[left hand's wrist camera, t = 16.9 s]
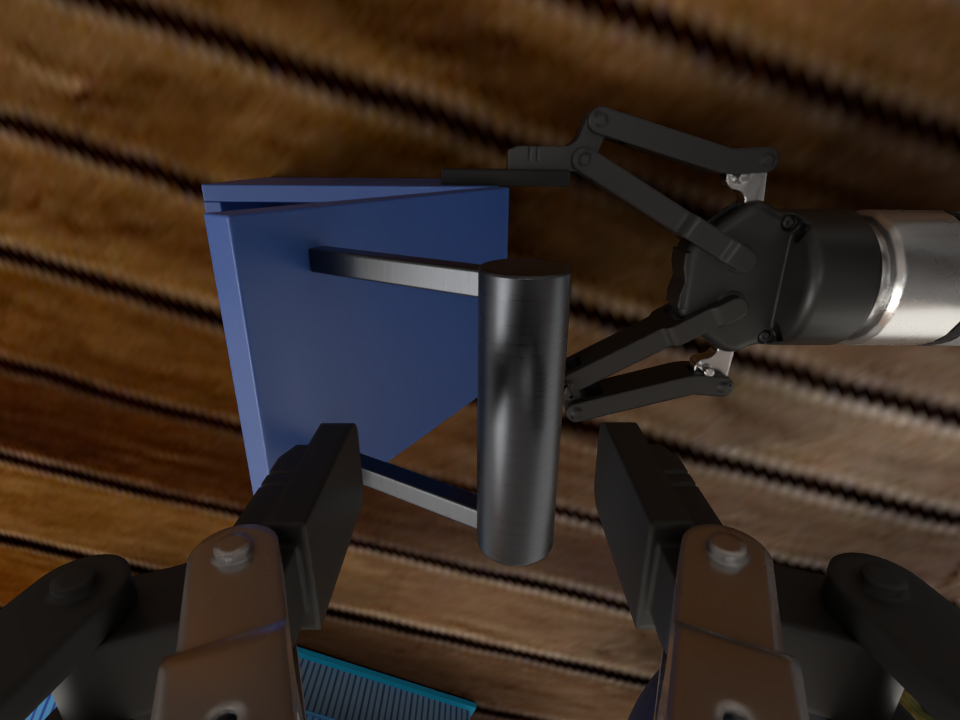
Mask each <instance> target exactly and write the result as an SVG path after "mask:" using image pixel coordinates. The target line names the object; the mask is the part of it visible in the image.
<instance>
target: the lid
mask: <svg viewBox="0 0 960 720" xmlns="http://www.w3.org/2000/svg"><path fill="white" fill-rule="evenodd" d="M508 213H509V188H508V187H483V188H472V189H461V190H451V191H440V192H429V193H418V194H407V195H396V196H385V197H374V198H363V199H352V200H341V201H330V202H319V203H308V204H298V205H287V206H276V207H265V208H254V209H243V210H232V211H221V212H210V213H206V214H204V218H205V224H206V229H207V235H208V241H209V246H210V252H211V258H212V263H213V269H214V275H215V280H216V286H217V292H218V297H219V303H220V309H221V314H222V320H223V325H224V331H225V337H226V342H227V348H228V354H229V359H230V365H231V371H232V376H233V382H234V388H235V393H236V399H237V405H238V410H239V416H240V422H241V427H242V433H243V438H244V444H245V450H246V455H247V461H248V467H249V472H250V478H251V484H252V489H253V495H254V494H255V493H256V491H257V490H258V488H259V487H261V484H262V482H263V481H264V479H265V478H266V476H267V475H269V472H270V470H271V468H272V467H273V465H274V464H275V462H276V461H277V459H278V458H279V457H280V456H281V455H283V454H284V453H286V452H287V451H288V450H290V449H291V448H293V447H294V446H295V445H308V444H309V442H310V441H311V439H312V437H313V436H314V434H315V432H316V430H317V429H318V427H319V425H320V424H321V423H355V424H356V426H357V429H358V437H359V447H360V458H361V468H362V478H363V485H365V486H368V487H371V488H373V489H376V490H378V491H381V492H383V493H386V494H388V495H391V496H394V497H396V498H399V499H401V500H404V501H406V502H409V503H411V504H414V505H416V506H419V507H422V508H424V509H427V510H429V511H432V512H434V513H437V514H439V515H442V516H445V517H447V518H450V519H452V520H455V521H457V522H460V523H462V524H465V525H468V526H470V527H473V528H475V529H477V542H478V545H479V547H480V549H481V550H482V552H483V553H484V554H485V555H486V556H487V557H489V558H490V559H492V560H493V561H495V562H498V563H501V564H504V565H509V566H526V565H530V564H534V563H536V562H538V561H540V560H542V559H543V558H544V557H546V556H547V554H548V553H549V552H550V550H551V548H552V545H553V536H554V522H555V507H556V493H557V479H558V465H559V451H560V437H561V422H562V408H563V394H564V380H565V366H566V352H567V338H568V323H569V309H570V295H571V281H572V270H571V267H570V266H568V265H566V264H563V263H560V262H557V261H552V260H545V259H534V258H507V252H508ZM477 397H478V399H477V494H474V493H471V492H469V491H466V490H463V489H460V488H457V487H455V486H452V485H449V484H446V483H443V482H440V481H438V480H435V479H432V478H429V477H426V476H424V475H421V474H418V473H415V472H412V471H410V470H407V469H404V468H401V467H398V466H396V465H393V464H390V463H387V462H388V461H390V460H391V459H392V458H394V457H395V456H397V455H398V454H399V453H401V452H402V451H403V450H405V449H406V448H408V447H409V446H410V445H412V444H413V443H415V442H416V441H417V440H419V439H420V438H421V437H423V436H424V435H426V434H427V433H428V432H430V431H431V430H433V429H434V428H435V427H437V426H438V425H439V424H441V423H442V422H444V421H445V420H446V419H448V418H449V417H451V416H452V415H453V414H455V413H456V412H457V411H459V410H460V409H462V408H463V407H464V406H466V405H467V404H469V403H470V402H471V401H473V400H474V399H475V398H477Z"/></svg>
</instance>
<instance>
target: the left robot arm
mask: <svg viewBox="0 0 960 720" xmlns="http://www.w3.org/2000/svg"><path fill="white" fill-rule="evenodd" d="M687 472H688V471H687V470H686V468H685V467H684V465H683V464H682V462H681V460H680V459H679V457H678V456H676V455H675V454H674V453H672V452H671V451H669V450H668V449H667V448H665V447H664V446H662V445H661V444H648V442H647V440H646V439H645V437H644V435H643V433H642V432H641V430H640V428H639V426H638V425H637V424H636V423H634V422H609V423H608V422H604V423H602V424H601V426H600V431H599V440H598V450H597V461H596V472H595V484H594V491H595V502H596V507H597V511H598V514H599V517H600V520H601V523H602V526H603V529H604V532H605V535H606V538H607V541H608V544H609V548H610V551H611V554H612V557H613V560H614V563H615V566H616V569H617V572H618V575H619V578H620V581H621V584H622V587H623V590H624V593H625V596H626V599H627V602H628V606H629V609H630V612H631V615H632V618H633V621H634V624H635V627H636V629H656V631H657V633H658V636H659V639H660V641H661V644H662V647H663V650H662V655H661V662H660V670H659V679H658V687H657V695H656V704H655V712H654V720H916V719H915V718H914V717H913V716H912V715H911V714H910V713H909V712H908V711H907V710H906V709H905V708H904V707H903V706H902V705H901V704H900V702H899V700H900V698H901V695H902V693H903V691H904V689H905V690H906V691H907V692H908V693H909V694H910V695H911V696H912V697H913V698H914V699H915V700H916V701H917V702H918V703H919V704H920V705H921V706H922V707H923V708H924V709H925V710H926V711H927V712H928V713H929V714H930V715H931V716H932V717H933V718H934V719H935V720H960V609H958V608H957V607H956V606H955V605H953V604H952V603H951V602H949V601H948V600H947V599H946V598H944V597H943V596H942V595H940V594H939V593H938V592H937V591H935V590H934V589H933V588H931V587H930V586H929V585H928V584H926V583H925V582H924V581H923V580H921V579H920V578H919V577H917V576H916V575H914V574H913V573H911V572H910V571H908V570H906V569H905V568H903V567H901V566H899V565H897V564H895V563H893V562H890V561H888V560H885V559H882V558H879V557H876V556H872V555H868V554H862V553H843V554H839V555H837V556H835V557H833V558H832V559H831V560H830V562H829V565H828V568H827V571H826V574H825V575H821V574H816V573H812V572H807V571H803V570H798V569H794V568H789V567H785V566H781V565H777V564H774V563H773V561H772V558H771V556H770V554H769V552H768V551H767V550H766V548H765V547H764V546H763V545H762V544H760V543H759V542H758V541H757V540H755V539H754V538H752V537H751V536H749V535H747V534H745V533H743V532H741V531H739V530H736V529H734V528H730V527H727V526H723V525H722V524H721V522H720V521H719V519H718V517H717V516H716V514H715V513H714V511H713V510H712V508H711V507H710V505H709V504H708V502H707V501H706V499H705V497H704V496H703V494H702V493H701V491H700V490H699V488H698V487H696V486H695V482H694V481H693V479H692V477H691V476H690V474H688V473H687ZM362 498H363V478H362V468H361V458H360V447H359V437H358V429H357V426H356V424H355V423H321V424H320V425H319V427H318V429H317V430H316V432H315V434H314V436H313V437H312V439H311V441H310V442H309V444H308V445H295V446H294V447H293V448H291V449H290V450H288V451H287V452H286V453H284V454H283V455H281V456H280V457H279V458H278V459H277V461H276V462H275V464H274V465H273V467H272V468H271V470H270V472H269V475H267V476H266V478H265V479H264V481H263V482H262V484H261V487H259V488H258V490H257V491H256V493H255V494H254V496H253V497H252V499H251V500H250V502H249V503H248V505H247V506H246V508H245V509H244V511H243V513H242V514H241V516H240V517H239V519H238V520H237V522H236V523H235V525H234V526H233V527H230V528H226V529H224V530H221V531H219V532H217V533H215V534H213V535H211V536H209V537H208V538H206V539H205V540H203V541H202V542H201V543H200V544H198V545H197V546H196V547H195V548H194V550H193V551H192V552H191V554H190V556H189V558H188V561H187V563H185V564H182V565H179V566H175V567H171V568H167V569H162V570H158V571H153V572H149V573H144V574H140V575H135V576H132V573H131V569H130V566H129V564H128V562H127V561H126V560H125V559H124V558H122V557H120V556H117V555H110V554H102V555H93V556H88V557H84V558H81V559H78V560H74V561H72V562H69V563H67V564H64V565H62V566H60V567H58V568H56V569H54V570H53V571H51V572H49V573H48V574H46V575H44V576H43V577H42V578H40V579H39V580H37V581H36V582H35V583H34V584H32V585H31V586H30V587H29V588H27V589H26V590H25V591H23V592H22V593H21V594H20V595H18V596H17V597H16V598H14V599H13V600H12V601H11V602H9V603H8V604H7V605H5V606H4V607H3V608H2V609H0V720H25V719H26V718H27V717H28V716H29V715H30V714H31V713H32V712H33V711H34V710H35V709H36V708H37V707H38V706H39V705H40V704H41V703H42V702H43V701H44V700H45V699H46V698H47V697H48V696H49V695H50V694H51V693H52V696H53V698H54V700H55V703H56V705H57V707H56V708H55V709H54V710H53V711H52V712H51V713H50V714H49V715H48V716H47V717H46V718H45V719H44V720H306V712H305V704H304V695H303V687H302V679H301V670H300V662H299V655H298V650H297V644H296V640H297V637H298V635H299V632H300V630H320V629H321V626H322V623H323V620H324V617H325V614H326V611H327V608H328V605H329V602H330V599H331V596H332V593H333V590H334V587H335V584H336V581H337V578H338V575H339V572H340V569H341V566H342V563H343V560H344V557H345V554H346V551H347V548H348V545H349V543H350V540H351V537H352V534H353V531H354V528H355V525H356V522H357V519H358V516H359V513H360V509H361V505H362Z"/></svg>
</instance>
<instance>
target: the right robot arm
mask: <svg viewBox="0 0 960 720" xmlns="http://www.w3.org/2000/svg"><path fill="white" fill-rule="evenodd" d="M603 140H606V141H609V142H612V143H615V144H619V145H622V146H625V147H628V148H631V149H634V150H637V151H640V152H643V153H646V154H650V155H653V156H656V157H659V158H662V159H665V160H668V161H671V162H674V163H678V164H681V165H684V166H687V167H690V168H693V169H696V170H700V171H704V172H711V173H720V177H719V179H720V184H721V185H722V186H723V187H724V188H728V189H732V190H733V191H734V192H735V193H736V195H737V201H736V202H734V203H732V204H731V205H729V206H728V207H726V208H725V209H723V210H722V211H720V212H719V213H717V214H716V215H714V216H713V217H711V218H710V219H708V220H707V221H705V220H704V219H702V218H700V217H699V216H697V215H695V214H693V213H691V212H689V211H688V210H686V209H685V208H683V207H681V206H680V205H678V204H677V203H675V202H674V201H672V200H671V199H669V198H668V197H666V196H664V195H663V194H661V193H660V192H658V191H657V190H655V189H654V188H652V187H651V186H649V185H647V184H646V183H644V182H643V181H641V180H640V179H638V178H637V177H635V176H634V175H632V174H630V173H629V172H627V171H626V170H624V169H623V168H621V167H620V166H618V165H617V164H615V163H613V162H612V161H610V160H609V159H607V158H606V157H604V156H603V155H601V154H600V153H598V152H599V149H600V147H601V144H602V142H603ZM778 162H779V153H778V151H777V150H776V149H775V148H773V147H746V148H729V147H726V146H723V145H720V144H717V143H714V142H711V141H708V140H705V139H702V138H699V137H696V136H693V135H690V134H687V133H683V132H680V131H677V130H674V129H671V128H668V127H665V126H662V125H659V124H656V123H653V122H650V121H647V120H644V119H641V118H638V117H635V116H632V115H629V114H626V113H623V112H620V111H617V110H614V109H610V108H607V107H602V106H600V107H597V108H594V109H592V110H589V111H587V112H586V113H584V114H583V116H582V118H581V120H580V125H579V128H578V130H577V133H576V135H575V137H574V139H573V140H572V142H571V143H569V144H568V145H565V146H516V147H513V148H511V149H508V150H507V169H450V168H444V169H442V170H441V185H498V186H554V187H570V173H571V171H574V172H576V173H577V174H579V175H580V176H582V177H584V178H585V179H587V180H588V181H590V182H591V183H593V184H595V185H596V186H598V187H599V188H601V189H603V190H604V191H606V192H607V193H609V194H610V195H612V196H614V197H615V198H617V199H618V200H620V201H621V202H623V203H625V204H626V205H628V206H629V207H631V208H633V209H634V210H636V211H637V212H639V213H640V214H642V215H644V216H645V217H647V218H648V219H650V220H651V221H653V222H655V223H656V224H658V225H659V226H661V227H662V228H663V229H665V230H666V231H668V232H669V233H671V234H673V235H674V236H676V237H677V238H679V239H680V242H679V244H678V246H677V247H673V253H672V267H673V276H672V278H671V281H670V283H669V285H668V290H667V297H666V300H667V301H669V303H668V304H666V305H664V306H662V307H660V308H658V309H656V310H654V311H653V312H652V313H651V314H650V316H649V317H647V318H645V319H643V320H641V321H639V322H637V323H635V324H633V325H631V326H629V327H627V328H625V329H623V330H621V331H619V332H617V333H615V334H613V335H611V336H609V337H607V338H605V339H603V340H601V341H599V342H597V343H595V344H593V345H591V346H589V347H587V348H585V349H583V350H581V351H579V352H577V353H575V354H573V355H571V356H570V357H568V358H566V366H565V380H564V394H563V405H564V408H565V411H566V414H567V417H568V419H570V420H571V421H573V422H580V421H584V420H588V419H592V418H596V417H600V416H605V415H609V414H613V413H617V412H621V411H626V410H630V409H634V408H638V407H642V406H646V405H651V404H655V403H659V402H663V401H667V400H672V399H676V398H680V397H684V396H688V395H692V394H695V395H708V396H726V395H728V394H730V393H731V392H732V390H733V388H734V384H733V381H732V380H731V379H729V378H728V377H727V375H728V371H729V368H730V364H731V360H732V357H733V353H734V351H738V350H740V349H742V348H744V347H747V346H749V345H753V344H773V345H833V344H837V343H839V344H844V345H849V346H852V345H922V346H930V345H946V346H960V212H953V211H933V210H858V211H855V212H854V211H851V210H846V209H776V208H774V207H772V206H771V205H769V204H768V203H766V202H764V193H765V185H766V177H767V172H770V171H772V170H773V169H774V168H775V167H776V166H777V164H778ZM699 336H702V337H704V338H705V339H706V340H707V341H709V342H710V343H711V347H710V348H709V350H708V351H706V352H704V353H701V354H694V355H692V356H691V357H690V361H678V362H672V363H667V364H663V365H659V366H655V367H651V368H646V369H642V370H638V371H634V372H630V373H626V374H622V375H618V376H614V377H610V378H606V377H608V376H610V375H612V374H614V373H616V372H618V371H620V370H622V369H624V368H626V367H628V366H630V365H633V364H635V363H637V362H639V361H641V360H643V359H645V358H647V357H649V356H651V355H653V354H655V353H657V352H659V351H661V350H663V349H665V348H667V347H670V346H680V345H683V344H685V343H687V342H689V341H691V340H693V339H695V338H697V337H699ZM604 378H606V379H604Z"/></svg>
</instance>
